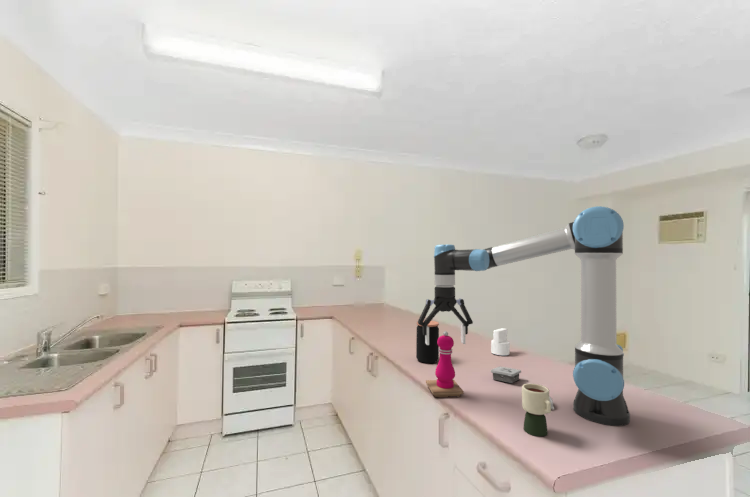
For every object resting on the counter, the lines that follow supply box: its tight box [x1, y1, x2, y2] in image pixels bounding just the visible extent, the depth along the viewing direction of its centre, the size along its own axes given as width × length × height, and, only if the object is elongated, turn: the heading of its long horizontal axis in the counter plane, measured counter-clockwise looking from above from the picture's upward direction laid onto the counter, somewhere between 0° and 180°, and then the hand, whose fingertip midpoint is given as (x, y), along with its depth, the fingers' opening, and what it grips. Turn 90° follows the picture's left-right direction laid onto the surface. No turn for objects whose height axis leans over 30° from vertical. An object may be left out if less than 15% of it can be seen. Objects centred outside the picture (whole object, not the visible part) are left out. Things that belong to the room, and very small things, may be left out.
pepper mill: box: [434, 330, 456, 389], centre depth 127 cm, size 7×7×20 cm
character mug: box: [521, 383, 552, 437], centre depth 98 cm, size 11×7×13 cm, turn 17°
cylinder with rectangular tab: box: [490, 327, 511, 356], centre depth 178 cm, size 9×9×12 cm
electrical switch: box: [490, 365, 522, 384], centre depth 140 cm, size 9×5×9 cm
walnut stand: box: [425, 379, 465, 398], centre depth 126 cm, size 11×11×2 cm
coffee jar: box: [415, 319, 440, 364], centre depth 165 cm, size 11×11×18 cm
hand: (445, 343), depth 126 cm, fingers open, 13 cm apart
